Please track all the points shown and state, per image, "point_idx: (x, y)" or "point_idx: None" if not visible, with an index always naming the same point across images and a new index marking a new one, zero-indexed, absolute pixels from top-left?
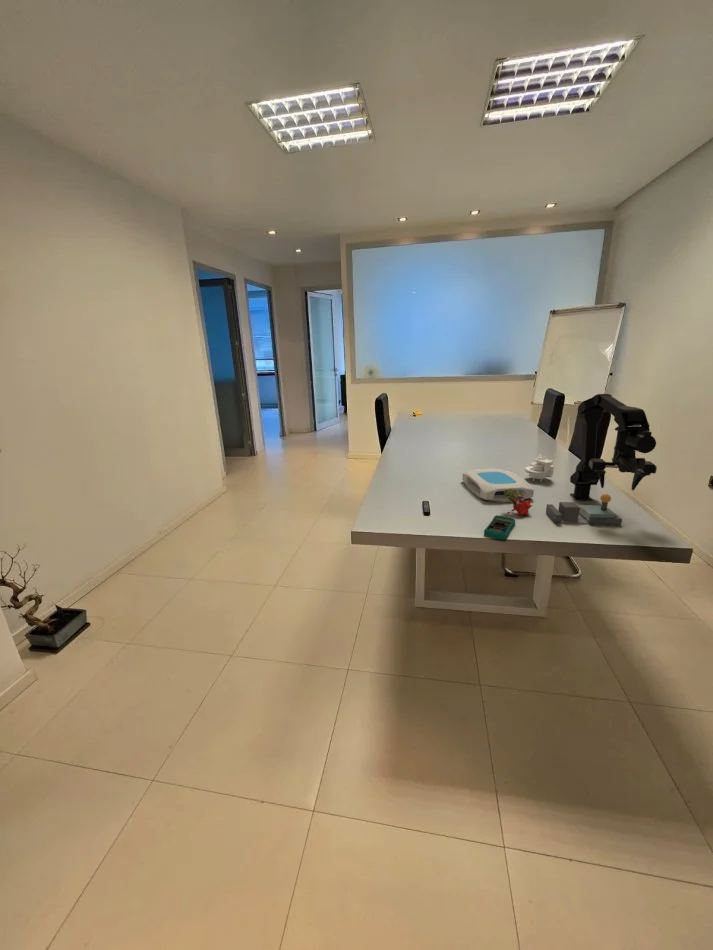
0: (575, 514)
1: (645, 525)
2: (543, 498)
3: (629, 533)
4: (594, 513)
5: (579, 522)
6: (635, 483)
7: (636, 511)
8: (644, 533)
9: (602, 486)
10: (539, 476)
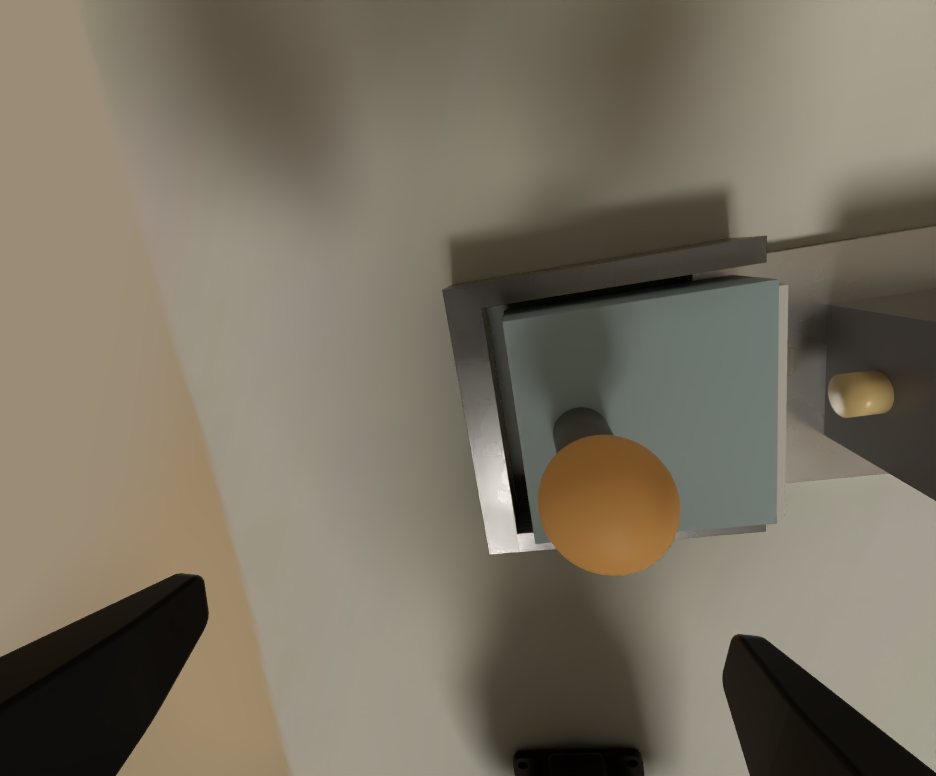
0: (911, 307)
1: (261, 337)
2: None
3: (429, 115)
4: (730, 296)
5: (835, 246)
6: (9, 693)
7: (265, 594)
8: (306, 152)
9: (787, 663)
10: None
